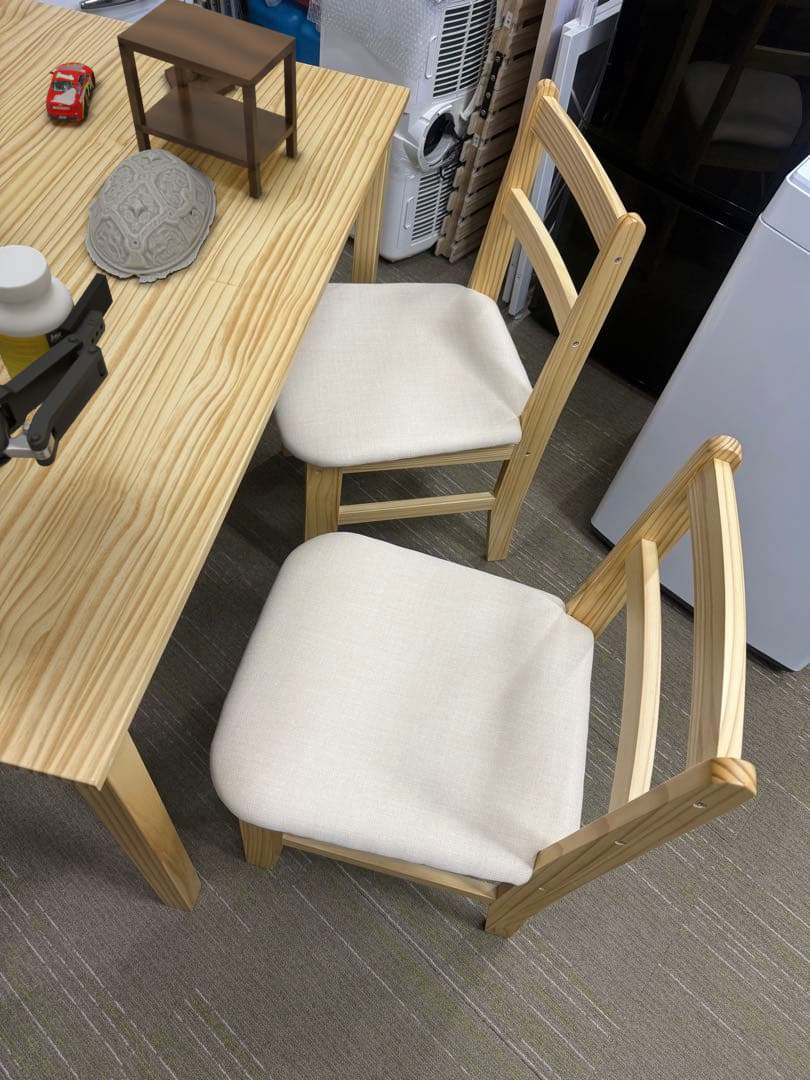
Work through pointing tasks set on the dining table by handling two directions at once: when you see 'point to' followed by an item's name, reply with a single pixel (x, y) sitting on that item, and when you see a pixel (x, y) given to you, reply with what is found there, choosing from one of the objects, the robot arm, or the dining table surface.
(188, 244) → the grey domed shell
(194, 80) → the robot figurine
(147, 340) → the dining table surface
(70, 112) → the race car
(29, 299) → the pill bottle
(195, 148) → the rack
